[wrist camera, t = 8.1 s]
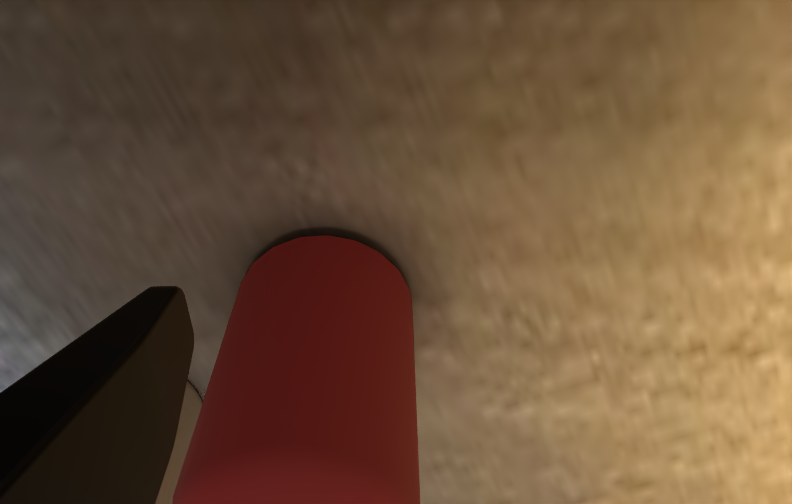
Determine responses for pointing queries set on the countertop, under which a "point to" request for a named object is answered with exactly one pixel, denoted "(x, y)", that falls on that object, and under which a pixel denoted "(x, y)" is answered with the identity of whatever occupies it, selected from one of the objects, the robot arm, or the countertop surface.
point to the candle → (180, 444)
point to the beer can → (311, 385)
